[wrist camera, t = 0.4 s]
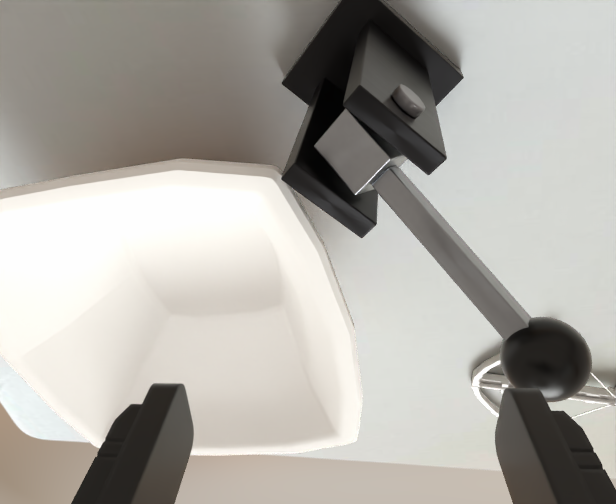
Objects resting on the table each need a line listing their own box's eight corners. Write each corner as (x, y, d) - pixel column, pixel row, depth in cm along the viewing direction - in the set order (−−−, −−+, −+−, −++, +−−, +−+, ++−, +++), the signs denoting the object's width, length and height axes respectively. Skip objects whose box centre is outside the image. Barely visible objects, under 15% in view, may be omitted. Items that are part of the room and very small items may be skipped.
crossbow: (460, 412, 48) (462, 430, 46) (483, 317, 41) (486, 335, 39) (641, 437, 45) (649, 458, 43) (700, 340, 38) (713, 360, 36)
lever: (612, 355, 19) (612, 393, 16) (542, 391, 21) (532, 431, 18) (381, 99, 22) (349, 96, 19) (335, 150, 23) (300, 155, 21)
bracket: (461, 71, 29) (501, 168, 19) (381, 155, 33) (377, 274, 22) (357, -24, 27) (337, 26, 16) (284, 77, 30) (231, 170, 20)
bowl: (385, 344, 43) (384, 455, 34) (137, 360, 49) (84, 458, 40) (329, 70, 30) (305, 140, 21) (0, 138, 36) (-121, 214, 27)
